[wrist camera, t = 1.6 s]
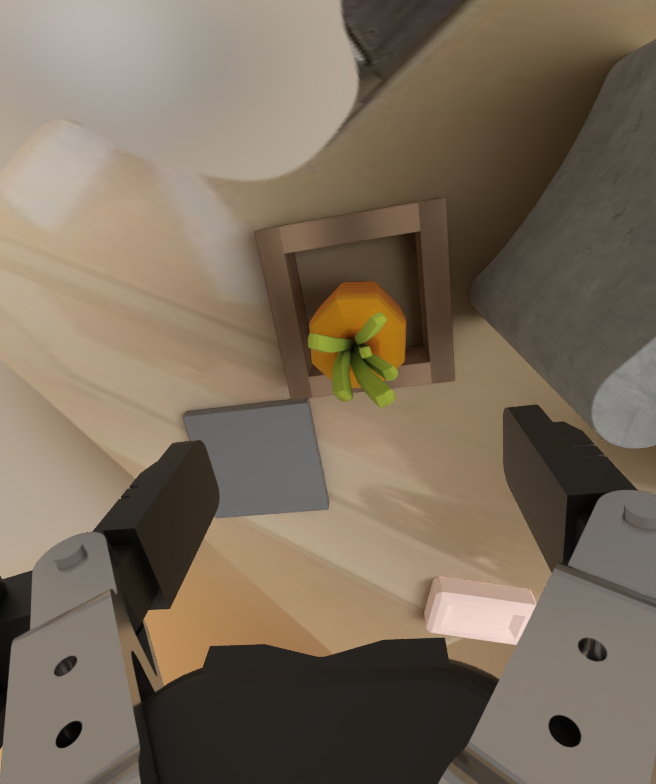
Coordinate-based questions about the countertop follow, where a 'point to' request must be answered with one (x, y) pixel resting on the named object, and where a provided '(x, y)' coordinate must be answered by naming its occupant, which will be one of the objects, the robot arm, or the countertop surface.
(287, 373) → the socket collar
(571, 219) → the hip flask
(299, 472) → the mat
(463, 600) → the soap bar
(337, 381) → the carrot
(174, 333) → the countertop surface
